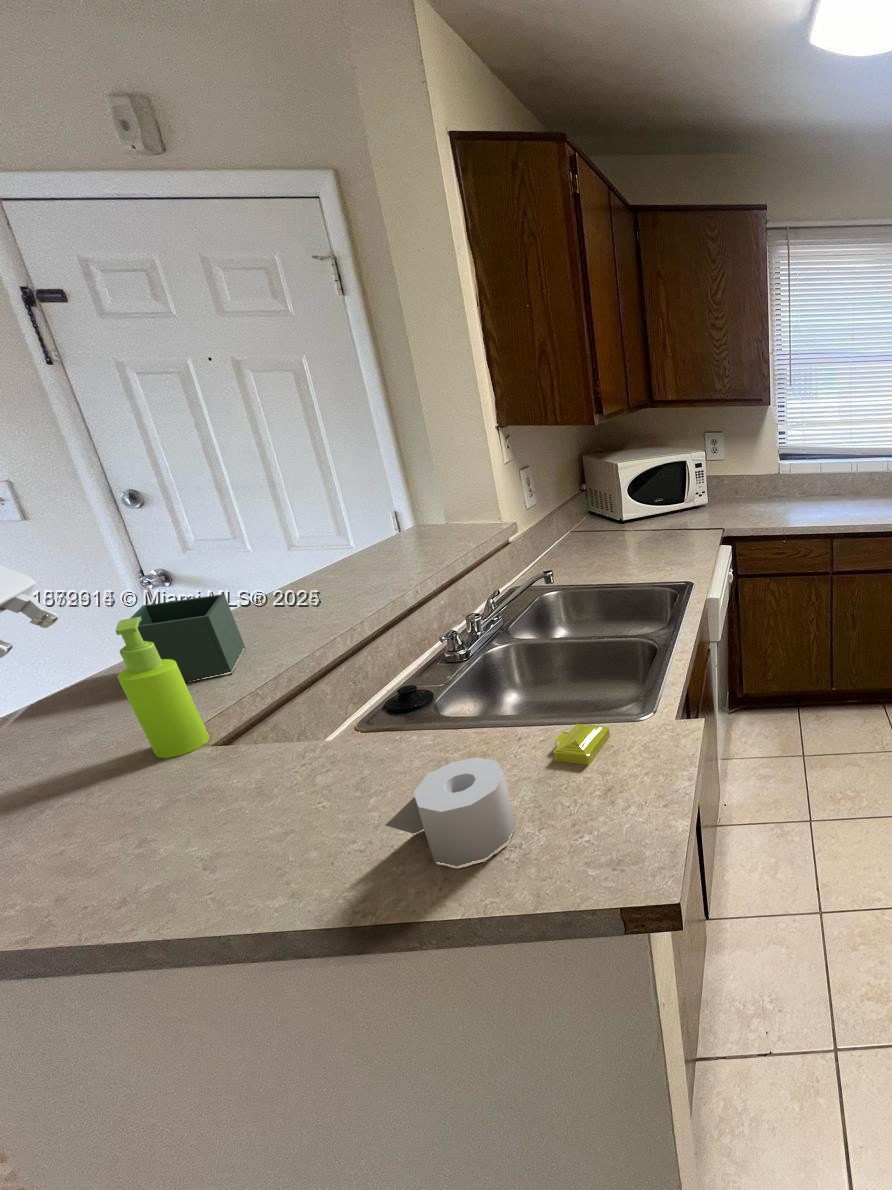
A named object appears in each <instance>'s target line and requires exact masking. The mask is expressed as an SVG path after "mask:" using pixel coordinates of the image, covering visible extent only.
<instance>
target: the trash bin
mask: <svg viewBox="0 0 892 1190" xmlns="http://www.w3.org/2000/svg"><path fill="white" fill-rule="evenodd" d="M135 617H141V619H142V620H141V621H140V622H139V625H138V630H139V633H140V635H141V637H142V639H143V641H147V642H153V643H154V645H155V647H156V649H157V651H158V653H159V656H160V658H161V659H171V660H174V661H176V663H177V666H178V668H179V670H180V672H181V675H182V677H183V679H184V681H185V682H189V681H193V680H197V679H202V678H205V677H210V676H215V675H220V674H224V673H227V672H231V671H232V669H233V667H234V665H235V663H236V661H237V659H238V658H239V655H240V654H241V652H242V649H243V648H244V646H245V643H244V641H243V638H242V635H241V633H240V630H239V628H238V625H237V623H236V620H235V617H234V616H233V612H232V610H231V608H230V604H229V602H228V600H227V597H226V594H225V593H222V594H216V595H209V596H208V595H207V596H201V597H193V598H186V599H179V600H172V601H171V600H170V601H165V602H158V603H150V604H143V605H142V606H141V607H140V608H138V610H137V611H136V612H134V614H133V615H132V616H131V617H130V618H135ZM189 683H190V682H189Z"/></svg>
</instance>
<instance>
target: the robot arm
mask: <svg viewBox="0 0 892 1190" xmlns="http://www.w3.org/2000/svg"><path fill="white" fill-rule="evenodd" d="M36 586H37V582H36V580H34V578H32V577H31V576H30V575H28V574H25V573H23V572H20V571H17V570H14V569H12V568H9V567H6V566H3V565H1V564H0V614H1V613H4V612H5V611H10V612H12V613H16V614H19V613H22V614H23V615H25V616H26V617H28V618H29V619H31V620H30V622H29V623H30V624H31V625H35V626H39V627H40V628H43V629H47V628H50V627H51V626H53V625H54V624H55V623H56V622H57V621H58V620H59V619H60V617H61V616H60V614H58V613H56V612H54V611H51V610H49V609H46V608H45V606H43V605H42V604H41V603H40V602H39V601H38V600H37V599H36V598H35V597H32V596H30V594H31V593H32V591H34V589H35V587H36ZM13 646H14V645H13V644H11V643H10V642H6V641H3V640H2V639H0V659H1V658H3V657H6V655H8V654H9V653H10V651H11V650H12V649H13V648H14V647H13Z"/></svg>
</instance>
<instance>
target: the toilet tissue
mask: <svg viewBox="0 0 892 1190" xmlns="http://www.w3.org/2000/svg"><path fill="white" fill-rule="evenodd" d="M514 815H515V814H514V811H513V806H512V802H511V797H510V794H509V788H508V783H507V779H506V774H505V772H504V770H503V769H502V767H501V765H500V763H499V762H498V761H497V760H493V759H489V758H488V759H487V758H483V757H478V756H475V757H470V758H466V759H461V760H456V761H452V762H451V761H450V762H448V763H447V764H445V765H443V766H441V767H439V768H438V769H436V770H434V771H432V772H431V773H429V774H427V775H425V776H424V777H423V779H422V780H421V782H420V783H419V784H418V786H417V787H416V789H415V790H414V791H413V798H411V799H410V800H409V802H407V803H406V804H405V805H404V806H403V807H402V808H401V809H400V810H399V811H398V812H397V813H396V814H395V815H394V816H393V817H392V818H391V819H390V820H389V821H387V822H386V823H385V824H384V826H385V827H388V828H391V829H395V830H399V831H403V832H407V833H410V834H414V833H416V834H418V833H420V832H422V831H421V830H423V829H424V830H423V831H424V833H425V838H426V840H427V843H428V848H429V851H430V850H431V851H430V853H431V855H433V856H432V859H433V861H434V860H435V861H434V863H435V862H440V863H445V864H450V865H455V866H459V865H462V864H466V863H470V862H472V861H477V860H481V859H484V858H486V857H488V856H489V855H490V854H491V853H493V852H494V851H495V850H497V849H498V848H499V847H500V846H502V845H503V844H504V843H506V842H507V841H508V839H509V836H510V835H511V833H512V831H513V829H514V827H515V825H516V826H517V824H516V821H515V816H514ZM419 831H420V832H419ZM417 832H418V833H417ZM414 835H415V834H414Z"/></svg>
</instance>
